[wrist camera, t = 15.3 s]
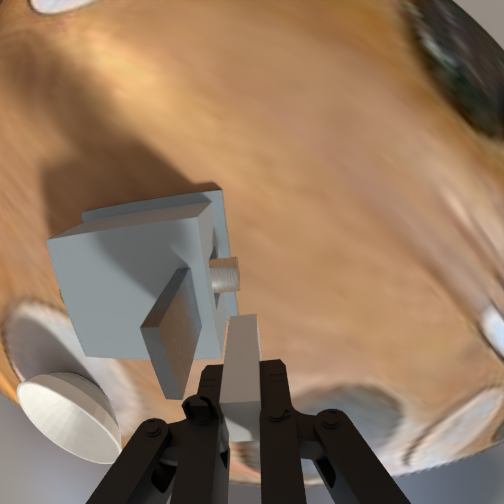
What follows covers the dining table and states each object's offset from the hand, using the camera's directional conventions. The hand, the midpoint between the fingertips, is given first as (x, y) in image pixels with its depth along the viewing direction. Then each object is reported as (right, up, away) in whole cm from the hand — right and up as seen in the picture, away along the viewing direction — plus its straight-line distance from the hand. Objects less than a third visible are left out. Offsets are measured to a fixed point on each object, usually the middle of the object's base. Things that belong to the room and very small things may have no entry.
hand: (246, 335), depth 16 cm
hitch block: (-10, +4, +14) cm, 17 cm away
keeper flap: (-5, 0, +1) cm, 5 cm away
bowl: (-28, -20, +22) cm, 40 cm away
